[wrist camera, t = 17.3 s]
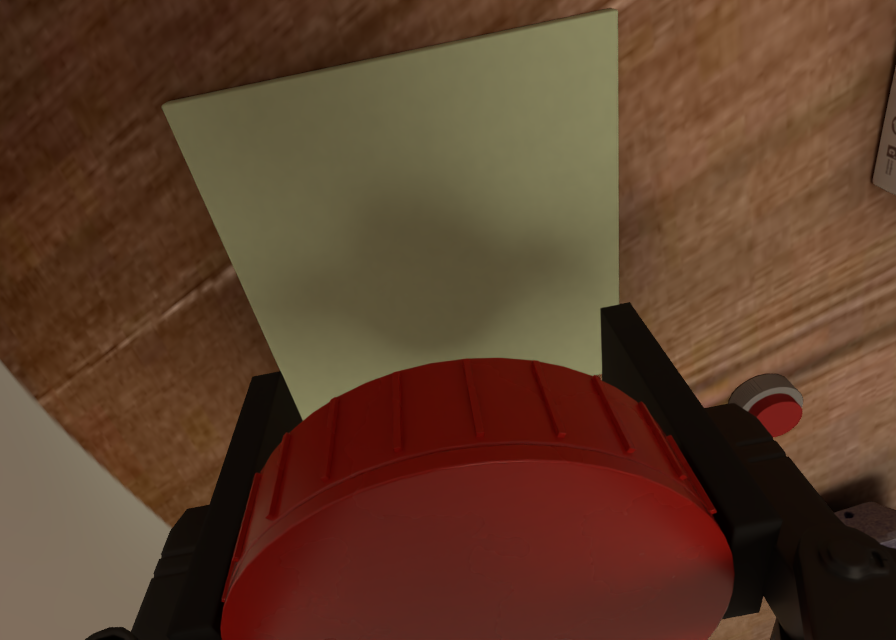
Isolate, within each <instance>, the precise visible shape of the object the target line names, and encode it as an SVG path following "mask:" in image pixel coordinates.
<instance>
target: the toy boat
mask: <svg viewBox="0 0 896 640" xmlns="http://www.w3.org/2000/svg"><path fill="white" fill-rule="evenodd" d="M834 514H835V515H836V516H837V517H838V518H839V519H840V520H841V521H842V522H843V523H844V524H845V525H846V526H849V527H852V528H856V529H858V530H860V531H862V532H864V533H865V534H867V535H869V536H871V537H872V538H874V539H876V540H877V541H878V542H879V543H880V544H881V545H883V546H886V547H890V548H895V549H896V510H893V509H890V508H887V507H884V506H881V505H879V504H877V503H875V502H867V503H863V504H860V505H857V506H854V507H850V508H848V509H845V510H842V511H838V512H835V513H834Z"/></svg>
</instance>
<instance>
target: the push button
mask: <svg viewBox="0 0 896 640" xmlns="http://www.w3.org/2000/svg"><path fill="white" fill-rule="evenodd" d="M730 403H735V404H737V405H738V406H740V407H742V408H743V409H745V410H746V411H748V412H749V413H751V414H752V415H754V416H756V417H757V418H758V419H759V420H760V422H761V423H762V424H763V425H764V427H765V428H766V429H767V430H768V432H769V433H770V434H771V435H772V437H777V436H780V435H783V434H784V433H786V432H788V431H790V430H792V428H794V427H795V426H796V425H797V424H798V422H799V420H800V419H801V417H802V408H801V407H802V404H803V397H802V395H801V393H800V392H799V391H798V390H797V389H796V388H795V387H794V386H793V385H792V384H791V383H790V382H789V381H788V380H787V379H786V378H785V377H784V376H781V375H778V374H765V375H760V376H757V377H754V378H752V379H750V380H748V381H746V382H745V383H744V384H743V385H741V386H740V387H739V388H738V389H736V390H735V392H734V393H733V395H732V396H731V398H730V400H729V403H728V404H730Z"/></svg>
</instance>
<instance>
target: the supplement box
mask: <svg viewBox="0 0 896 640" xmlns="http://www.w3.org/2000/svg"><path fill="white" fill-rule="evenodd" d="M873 183H874V185H876V186H878V187H880V188H882V189H884V190H886V191H888V192H890V193H892V194H894V195H896V67H895V72H894V77H893V82H892V86H891V91H890V96H889V101H888V106H887V110H886V115H885V120H884V125H883V130H882V135H881V140H880V146H879V151H878V156H877V161H876V165H875V170H874V176H873Z"/></svg>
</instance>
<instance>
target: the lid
mask: <svg viewBox="0 0 896 640" xmlns="http://www.w3.org/2000/svg"><path fill="white" fill-rule="evenodd" d="M716 512H717V511H716V509H715V508H714V506H713V504H712V502H711V501H710V499H709V497H708V496H707V494H706V492H705V491H704V489H703V487H702V486H701V484H700V482H699V481H698V479H697V477H696V476H695V474H694V472H693V471H692V469H691V467H690V466H689V464H688V462H687V461H686V459H685V457H684V456H683V454H682V452H681V451H680V449H679V447H678V446H677V444H676V442H675V441H674V439H673V437H672V435H669V436H666V434H665V433H664V432H663V430H662V429H661V427H660V426H659V425H658V423H657V422H656V420H655V419H654V418H653V417H652V416H651V414H650V412H649V410H648V409H647V407H646V405H645V404H644V403H643V402H642V401H641V402H639V403H638V402H637V401H635V400H634V399H632V398H631V397H629V396H628V395H626V394H625V393H624V392H622V391H621V390H619V389H618V388H616V387H614V386H612V385H610V384H608V383H606V382H604V381H602V380H601V379H600V377H598V376H596V375H594V376H592V375H589V374H586V373H583V372H580V371H577V370H573V369H570V368H567V367H564V366H560V365H555V364H550V363H545V362H539V361H538V360H525V359H512V358H500V357H499V358H465V359H458V360H450V361H443V362H435V363H429V364H425V365H421V366H417V367H413V368H409V369H404V370H400V371H396V372H393V373H391V374H388V375H385V376H383V377H380V378H377V379H374V380H372V381H369V382H366V383H364V384H362V385H360V386H358V387H356V388H354V389H352V390H350V391H348V392H346V393H344V394H342V395H339V396H337V397H334V398H332V399H331V400H330V402H328V403H327V404H325V405H324V406H322V407H321V408H319V409H317V410H316V411H314V412H313V413H312V414H310V415H309V416H308V417H307V418H306V419H305V420H303V421H302V422H301V423H300V424H299V425H298V426H296V427H295V428H294V429H293V430H292V431H291V432H290V433H287V432H286V433H285V434H284V435H283V439H282V442H281V443H280V444H279V445H278V446H277V448H276V449H275V450H274V451H273V452H272V454H271V456H270V457H269V459H268V461H267V462H266V464H265V465H264V467H263V469H262V470H261V472H260V473H255V476H254V479H253V482H252V486H251V490H250V494H249V498H248V501H247V505H246V509H245V513H244V516H243V520H242V523H241V527H240V531H239V535H238V539H237V542H236V546H235V550H234V554H233V558H232V561H231V565H230V569H229V573H228V577H227V580H226V584H225V588H224V592H223V596H222V602H224V606H223V612H222V618H221V625H220V629H221V639H222V640H708V638H709V637H710V636H711V634H712V633H713V632H714V631H715V629H716V628H717V627H718V625H719V623H720V621H721V619H722V618H723V616H724V614H725V612H726V610H727V608H728V605H729V602H730V599H731V596H732V593H733V586H734V577H735V571H734V564H733V556H732V552H731V550H730V547H729V545H728V542H727V540H726V537H725V535H724V533H723V532H722V530H721V528H720V527H719V525H718V523H717V522H716V520H715V518H714V516H713V515H712V514H714V513H716Z"/></svg>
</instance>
